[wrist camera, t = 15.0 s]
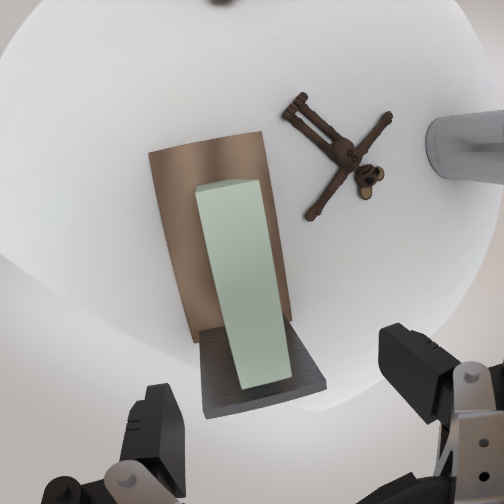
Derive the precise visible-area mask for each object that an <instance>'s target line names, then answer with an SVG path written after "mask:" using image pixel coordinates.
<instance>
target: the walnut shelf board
mask: <svg viewBox="0 0 504 504" xmlns="http://www.w3.org/2000/svg"><path fill="white" fill-rule="evenodd" d="M148 155H149V160H150V166H151V171H152V176H153V181H154V186H155V191H156V196H157V201H158V206H159V210H160V215H161V220H162V224H163V228H164V233H165V237H166V241H167V246H168V250H169V254H170V258H171V262H172V266H173V270H174V274H175V278H176V282H177V285H178V289H179V293H180V297H181V300H182V304H183V308H184V311H185V315H186V318H187V322H188V325H189V329H190V332H191V335H192V339H193V342H194V343H199V331H202V330H207V329H211V328H216V327H221V326H225V323H224V319H223V315H222V311H221V307H220V302H219V298H218V294H217V290H216V286H215V281H214V277H213V273H212V268H211V264H210V260H209V255H208V251H207V246H206V242H205V237H204V233H203V228H202V223H201V219H200V214H199V209H198V204H197V200H196V195H195V192H196V188H197V186H199V185H204V184H209V183H214V182H218V181H223V180H228V179H243V180H259V183H260V188H261V194H262V199H263V205H264V211H265V216H266V222H267V227H268V233H269V239H270V245H271V250H272V256H273V262H274V268H275V274H276V280H277V286H278V292H279V298H280V304H281V310H282V312H283V313H284V315H285V316H286V318H287V320H288V321H289V322H290V321H292V315H291V308H290V301H289V294H288V287H287V281H286V274H285V267H284V261H283V254H282V248H281V242H280V235H279V229H278V223H277V217H276V211H275V205H274V199H273V193H272V187H271V181H270V176H269V170H268V164H267V159H266V153H265V148H264V142H263V137H262V131H259V132H252V133H246V134H240V135H233V136H228V137H222V138H216V139H211V140H206V141H200V142H195V143H191V144H186V145H181V146H176V147H172V148H167V149H163V150H159V151H155V152H150V153H148Z"/></svg>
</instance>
